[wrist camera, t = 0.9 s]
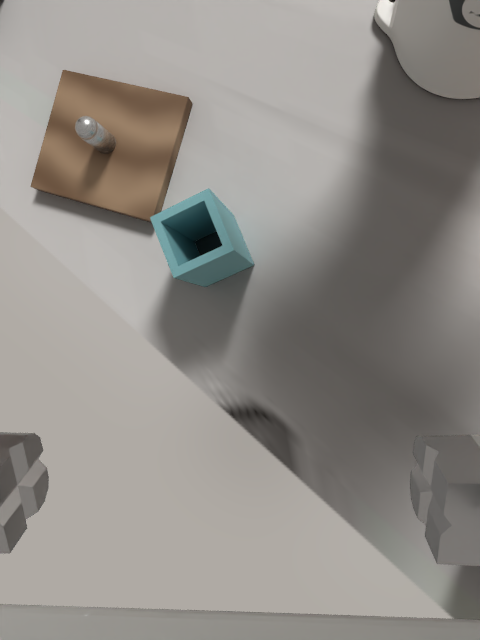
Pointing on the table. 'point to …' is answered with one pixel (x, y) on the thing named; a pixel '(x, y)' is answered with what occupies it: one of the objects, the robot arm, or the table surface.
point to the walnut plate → (129, 154)
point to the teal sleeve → (193, 224)
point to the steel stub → (95, 134)
